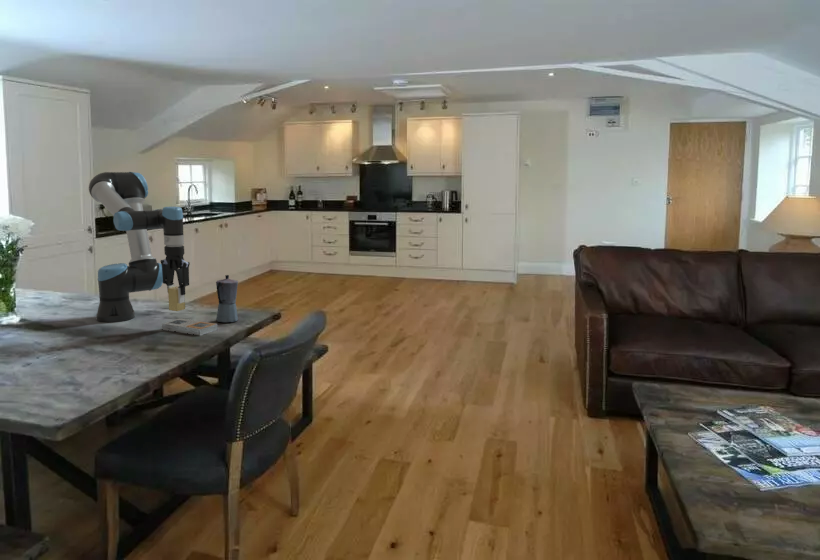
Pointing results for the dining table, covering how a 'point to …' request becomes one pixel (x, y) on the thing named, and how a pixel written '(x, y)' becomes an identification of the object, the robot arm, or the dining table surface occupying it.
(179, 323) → the grey shape sorter board
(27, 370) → the dining table surface
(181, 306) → the tan rectangular block
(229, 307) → the moka pot
